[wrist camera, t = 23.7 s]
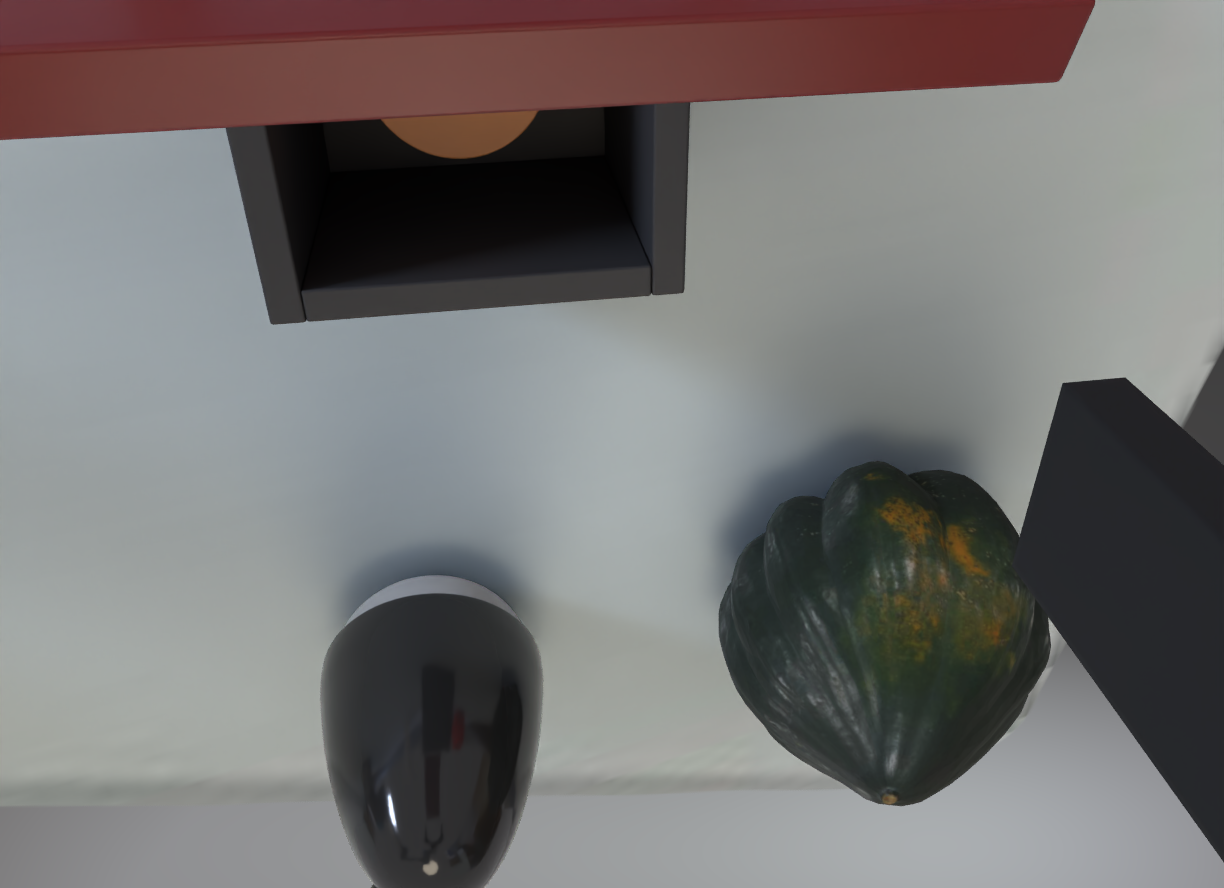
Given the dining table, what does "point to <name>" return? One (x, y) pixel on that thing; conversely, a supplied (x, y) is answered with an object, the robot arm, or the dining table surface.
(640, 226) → the black storage bin
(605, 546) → the dining table surface
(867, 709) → the squash
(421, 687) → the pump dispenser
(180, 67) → the lid
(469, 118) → the orange tapered cylinder
